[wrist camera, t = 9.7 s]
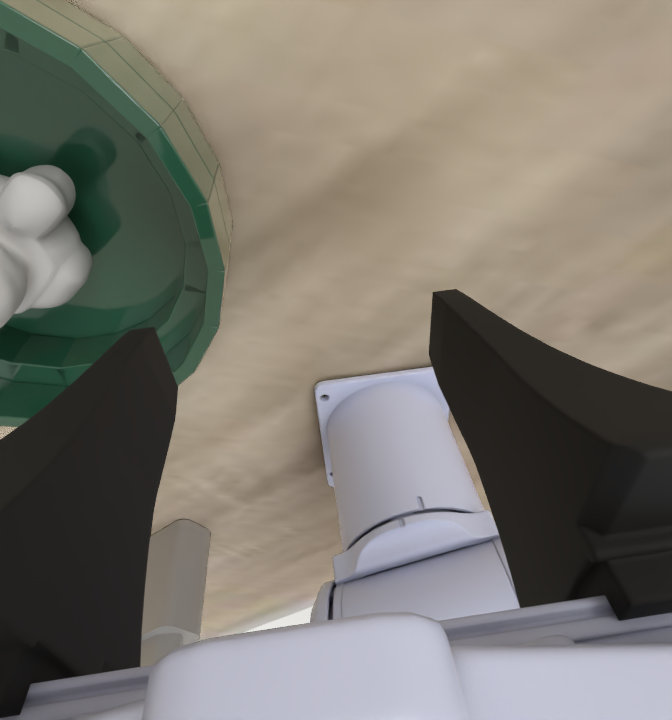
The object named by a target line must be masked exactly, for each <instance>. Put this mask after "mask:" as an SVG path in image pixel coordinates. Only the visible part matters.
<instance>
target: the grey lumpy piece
mask: <svg viewBox="0 0 672 720" xmlns="http://www.w3.org/2000/svg"><path fill="white" fill-rule="evenodd" d="M75 199H76V192H75V186H74V183H73V181H72V180H71V178H70V177H69V176H68V175H67V174H66V173H65V172H64V171H62V170H61V169H60V168H58V167H55V166H52V165H38V166H34V167H31V168H29V169H27V170H25V171H23V172H19V173H15V174H13V175H12V176H11V177H7V176H4V175H0V328H1V327H2V326H4V325H5V324H6V323H7V322H8V320H9V319H10V318H11V317H12V315H13V314H19V313H23V312H25V311H26V310H28V309H30V308H41V309H42V308H52V307H56V306H60V305H62V304H64V303H66V302H68V301H69V300H70V299H71V298H72V297H73V296H74V295H75V294H76V293H77V291H78V290H79V289H80V288H81V287H82V286H83V285H84V284H85V282H86V281H87V279H88V276H89V273H90V271H91V268H92V256H91V253H90V251H89V249H88V248H87V247H86V246H85V245H84V244H83V243H82V242H81V239H80V235H79V233H78V231H77V229H76V227H75V226H74V224H73V223H72V221H71V220H70V219H69V217H68V216H67V215H68V214H69V212H70V211H71V209H72V208H73V206H74V203H75Z"/></svg>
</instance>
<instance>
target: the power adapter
mask: <svg viewBox="0 0 672 720" xmlns="http://www.w3.org/2000/svg"><path fill="white" fill-rule="evenodd" d="M210 537H211V532H210V531H209V530H208V529H206V528H204V527H202V526H200V525H198V524H196V523H194V522H192V521H190V520H184V519H183V520H178V521H175V522H174V523H172V524H170V525H169V526H167V527H165V528H164V529H162V530H160V531H159V532H157V533H155V534H154V535H152V536H150V543H149V552H148V562H147V572H146V582H145V594H144V608H143V622H142V639H141V661H140V667H143V666H150V665H155V664H156V663H157V662H158V661H159V660H161V659H162V658H163V657H165V656H166V655H167V654H169V653H170V652H171V651H173V650H174V649H175V648H177V647H180V646H183V645H187V644H190V643H194V642H196V641H197V640H199V638H200V630H201V621H202V611H203V602H204V593H205V583H206V574H207V565H208V556H209V546H210Z"/></svg>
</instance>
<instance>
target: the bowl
mask: <svg viewBox="0 0 672 720" xmlns="http://www.w3.org/2000/svg"><path fill="white" fill-rule="evenodd" d="M182 99H183V98H182V97H181V95H180V94H179V93H178V92H177V91H176V90H175V89H174V88H173V87H172V86H171V85H170V84H169V83H168V82H167V81H166V80H165V79H164V78H163V77H162V76H161V75H160V74H159V73H158V72H157V71H156V69H155V68H154V67H153V66H152V65H151V64H150V63H149V62H148V61H147V60H146V59H145V58H144V57H143V56H142V55H141V54H140V53H139V52H138V51H137V50H136V49H135V48H134V47H133V46H132V44H131V43H130V42H129V41H128V40H127V39H126V38H124V37H123V36H122V35H121V34H120V33H118V32H116V31H115V30H113V29H111V28H110V27H108V26H107V25H105V24H103V23H102V22H100V21H98V20H97V19H95V18H94V17H92V16H90V15H89V14H87V13H85V12H84V11H82V10H81V9H79V8H77V7H76V6H74V5H72V4H71V3H69V2H68V1H66V0H0V175H4V176H7V177H11V176H12V175H13V174H15V173H19V172H23V171H25V170H27V169H29V168H31V167H34V166H38V165H52V166H55V167H58V168H60V169H61V170H62V171H64V172H65V173H66V174H67V175H68V176H69V177H70V178H71V180H72V181H73V183H74V186H75V192H76V199H75V203H74V206H73V208H72V209H71V211H70V212H69V214H68V215H67V216H68V217H69V219H70V220H71V221H72V223H73V224H74V226H75V227H76V229H77V231H78V233H79V235H80V239H81V242H82V243H83V244H84V245H85V246H86V247H87V248H88V249H89V251H90V253H91V256H92V268H91V271H90V273H89V276H88V279H87V281H86V282H85V284H84V285H83V286H82V287H81V288H80V289H79V290H78V291H77V293H76V294H75V295H74V296H73V297H72V298H71V299H70V300H69V301H68V302H66V303H64V304H62V305H60V306H56V307H52V308H42V309H41V308H30V309H28V310H26V311H25V312H23V313H19V314H13V315H12V317H11V318H10V319H9V320H8V322H7V323H6V324H5V325H4V326H2V327H1V328H0V426H8V427H19V426H20V425H22V424H23V423H25V422H26V421H27V420H29V419H30V418H31V417H32V416H34V415H35V414H36V413H38V412H39V411H40V410H41V409H43V408H44V407H45V406H46V405H47V404H49V403H50V402H51V401H52V400H53V399H54V398H56V397H57V396H58V395H59V394H60V393H61V392H63V391H64V390H65V389H66V388H67V387H68V386H70V385H71V384H72V383H73V382H74V381H75V380H76V379H78V378H79V377H80V376H81V375H82V374H83V373H84V372H85V371H86V370H87V369H88V368H89V367H90V366H91V365H92V364H93V363H95V362H96V361H97V360H98V359H99V358H100V357H101V356H102V355H103V354H104V353H105V352H106V351H107V350H108V349H109V348H110V347H111V346H112V345H114V344H115V343H116V342H117V341H118V340H119V339H120V338H121V337H122V336H123V335H125V334H126V333H127V332H128V331H130V330H134V329H142V328H150V327H154V328H155V330H156V333H157V335H158V338H159V340H160V343H161V345H162V348H163V350H164V353H165V355H166V358H167V360H168V363H169V365H170V368H171V371H172V373H173V376H174V378H175V381H176V383H177V386H178V385H179V384H181V383H182V382H183V381H184V380H185V379H187V378H188V377H189V376H190V375H191V374H193V373H194V372H195V370H196V369H197V367H198V366H199V364H200V362H201V360H202V358H203V356H204V355H205V353H206V351H207V349H208V347H209V345H210V343H211V342H212V340H213V338H214V336H215V334H216V332H217V330H218V329H219V325H220V319H221V313H222V306H223V299H224V292H225V286H226V279H227V273H228V264H229V254H230V245H231V236H232V227H233V225H232V223H233V221H232V217H231V212H230V208H229V203H228V199H227V194H226V190H225V185H224V181H223V176H222V172H221V168H220V164H218V160H217V158H216V156H215V155H214V153H213V151H212V149H211V147H210V146H209V144H208V142H207V140H206V138H205V137H204V135H203V133H202V131H201V129H200V128H199V126H198V124H197V122H196V120H195V119H194V117H193V115H192V113H191V111H190V110H189V108H188V106H187V104H186V102H185V101H184V100H182Z"/></svg>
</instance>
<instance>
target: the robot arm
mask: <svg viewBox="0 0 672 720" xmlns="http://www.w3.org/2000/svg"><path fill="white" fill-rule="evenodd" d="M429 356H430V360H431V363H432V366H433V367H426V368H418V369H411V370H403V371H395V372H388V373H380V374H373V375H365V376H357V377H350V378H342V379H335V380H327V381H321V382H318V383H317V384H316V385H315V388H314V389H315V397H316V404H317V411H318V418H319V425H320V432H321V439H322V446H323V453H324V460H325V467H326V474H327V481H328V485H329V486H331V487H334V488H335V496H336V504H337V511H338V519H339V526H340V534H341V542H342V549H343V553H341V554H338V555H335V556H333V558H332V559H333V568H334V577H335V580H333V581H330V582H326V583H324V584H323V585H322V586H321V588H320V590H319V592H318V595H317V599H316V601H315V603H314V605H313V609H312V613H311V619H310V623H306V624H299V625H293V626H287V627H280V628H274V629H267V630H261V631H254V632H247V633H241V634H234V635H227V636H221V637H214V638H209V639H205V640H201V641H198V642H194V643H190V644H187V645H183V646H180V647H177V648H175V649H174V650H173V651H171V652H170V653H169V654H167V655H166V656H165V657H163V658H162V659H161V660H159V661H158V662H157V663H156V664H155V665H150V666H143V667H140V661H141V639H142V622H143V608H144V594H145V582H146V572H147V562H148V552H149V543H150V535H151V528H152V520H153V512H154V506H155V501H156V496H157V492H158V488H159V484H160V480H161V476H162V472H163V468H164V464H165V460H166V456H167V452H168V448H169V443H170V439H171V435H172V431H173V426H174V422H175V415H176V405H177V392H178V386H177V383H176V381H175V378H174V376H173V373H172V371H171V368H170V365H169V363H168V360H167V358H166V355H165V353H164V350H163V348H162V345H161V343H160V340H159V338H158V335H157V333H156V330H155V328H154V327H150V328H142V329H134V330H130V331H128V332H127V333H126V334H125V335H123V336H122V337H121V338H120V339H119V340H118V341H117V342H116V343H115V344H114V345H112V346H111V347H110V348H109V349H108V350H107V351H106V352H105V353H104V354H103V355H102V356H101V357H100V358H99V359H98V360H97V361H96V362H95V363H93V364H92V365H91V366H90V367H89V368H88V369H87V370H86V371H85V372H84V373H83V374H82V375H81V376H80V377H79V378H78V379H76V380H75V381H74V382H73V383H72V384H71V385H70V386H68V387H67V388H66V389H65V390H64V391H63V392H61V393H60V394H59V395H58V396H57V397H56V398H54V399H53V400H52V401H51V402H50V403H49V404H47V405H46V406H45V407H44V408H43V409H41V410H40V411H39V412H38V413H36V414H35V415H34V416H32V417H31V418H30V419H29V420H27V421H26V422H25V423H23V424H22V425H20V426H19V427H18V428H16V429H15V430H14V431H12V432H11V433H9V434H8V435H7V436H5V437H4V438H2V439H1V440H0V720H672V391H668V390H665V389H661V388H658V387H654V386H651V385H647V384H644V383H641V382H638V381H635V380H632V379H629V378H626V377H623V376H620V375H617V374H615V373H612V372H609V371H606V370H604V369H601V368H598V367H596V366H593V365H591V364H588V363H586V362H583V361H581V360H579V359H577V358H575V357H572V356H570V355H568V354H566V353H563V352H561V351H559V350H557V349H555V348H553V347H551V346H549V345H547V344H545V343H543V342H541V341H540V340H538V339H536V338H534V337H532V336H530V335H529V334H527V333H525V332H523V331H522V330H520V329H518V328H516V327H515V326H513V325H512V324H510V323H508V322H507V321H505V320H503V319H502V318H500V317H499V316H497V315H496V314H494V313H493V312H491V311H489V310H488V309H486V308H485V307H483V306H482V305H480V304H479V303H477V302H476V301H474V300H473V299H471V298H470V297H468V296H467V295H465V294H463V293H462V292H460V291H458V290H457V289H453V290H445V291H437V292H433V299H432V314H431V329H430V344H429ZM322 395H327V396H325V397H322ZM449 410H450V411H451V413H452V415H453V417H454V419H455V421H456V423H457V425H458V427H459V429H460V431H461V434H462V436H463V438H464V440H465V442H466V444H467V446H468V448H469V450H470V453H471V455H472V457H473V460H474V462H475V464H476V467H477V470H478V473H479V476H480V479H481V481H482V484H483V487H484V490H485V493H486V496H487V499H488V502H489V505H490V508H491V511H492V514H493V517H494V520H495V522H494V520H493V517H492V515H491V513H490V511H489V510H484V508H483V506H482V503H481V501H480V498H479V496H478V494H477V491H476V489H475V486H474V484H473V482H472V479H471V477H470V474H469V472H468V470H467V467H466V465H465V462H464V460H463V457H462V455H461V453H460V450H459V448H458V445H457V443H456V441H455V438H454V436H453V433H452V431H451V429H450V426H449V424H448V419H449ZM495 523H496V524H495Z"/></svg>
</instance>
